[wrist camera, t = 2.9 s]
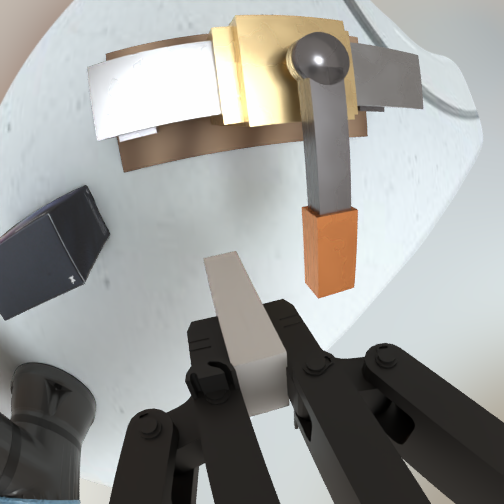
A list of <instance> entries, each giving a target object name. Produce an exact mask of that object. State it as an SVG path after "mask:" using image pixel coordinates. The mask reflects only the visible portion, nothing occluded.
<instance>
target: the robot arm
mask: <svg viewBox="0 0 504 504" xmlns="http://www.w3.org/2000/svg"><path fill="white" fill-rule="evenodd" d="M203 259H204V264H205V268H206V273H207V277H208V282H209V286H210V291H211V295H212V299H213V303H214V308H215V312H216V315H217V316H216V317H211V318H207V319H203V320H198V321H194V322H191V324H190V326H189V329H188V331H187V336H188V343H189V351H190V359H191V367H190V369H189V370H188V372H187V373H186V379H185V382H186V384H187V387H188V389H189V391H190V393H191V397H190V398H189V399H188V400H187V401H186V402H185V403H184V404H182V405H181V406H179V407H177V408H175V409H173V410H171V411H169V412H167V413H165V412H164V411H162V410H158V409H146V410H143V411H141V412H139V413H137V414H136V415H135V416H134V417H133V418H132V419H131V421H130V423H129V425H128V428H127V431H126V435H125V439H124V443H123V446H122V450H121V454H120V458H119V462H118V466H117V471H116V475H115V479H114V484H113V488H112V493H111V497H110V502H109V504H196V496H197V495H196V494H197V483H198V472H199V466H200V465H202V464H204V463H205V464H206V469H207V473H208V477H209V482H210V486H211V490H212V494H213V498H214V503H215V504H280V502H279V499H278V496H277V494H276V491H275V488H274V486H273V483H272V480H271V478H270V475H269V472H268V470H267V467H266V464H265V461H264V458H263V455H262V453H261V450H260V447H259V444H258V441H257V438H256V435H255V432H254V429H253V427H252V423H251V420H250V417H251V416H255V415H258V414H262V413H266V412H269V411H272V410H276V409H279V408H283V407H286V406H289V399H290V401H291V403H292V406H293V408H294V425H295V429H298V427H299V429H300V431H301V433H302V435H303V437H304V440H305V442H306V444H307V446H308V448H309V451H310V453H311V455H312V457H313V459H314V462H315V464H316V466H317V468H318V470H319V472H320V474H321V476H322V478H323V481H324V483H325V485H326V487H327V489H328V491H329V493H330V495H331V498H332V500H333V502H334V504H431V503H430V501H429V500H428V498H427V497H426V495H425V493H424V492H423V491H422V489H421V487H420V485H419V484H418V482H417V481H416V479H415V478H414V476H413V475H412V473H411V471H410V470H409V468H408V467H407V465H406V464H405V462H404V461H403V459H404V460H405V461H406V462H407V463H408V464H409V465H411V466H412V467H413V468H414V469H415V470H416V471H417V472H419V473H420V474H421V475H422V476H423V477H425V478H426V479H427V480H428V481H429V482H430V483H431V484H433V485H434V486H435V487H436V488H437V489H438V490H440V491H441V492H442V493H443V494H445V495H446V496H447V497H448V498H449V499H451V500H452V501H453V502H454V503H455V504H504V423H503V422H502V421H501V420H499V419H498V418H497V417H495V416H494V415H492V414H491V413H489V412H488V411H487V410H486V409H484V408H483V407H481V406H480V405H479V404H477V403H476V402H475V401H473V400H472V399H470V398H469V397H468V396H466V395H465V394H464V393H462V392H461V391H459V390H458V389H457V388H455V387H454V386H452V385H451V384H450V383H448V382H447V381H446V380H444V379H443V378H441V377H440V376H439V375H437V374H436V373H435V372H433V371H432V370H430V369H429V368H428V367H426V366H425V365H423V364H422V363H421V362H419V361H418V360H416V359H415V358H414V357H412V356H411V355H409V354H408V353H407V352H405V351H404V350H402V349H401V348H399V347H397V346H395V345H393V344H388V343H382V344H377V345H375V346H372V347H371V348H370V349H369V350H368V351H367V352H366V355H365V357H360V358H351V359H340V358H335V357H334V356H333V355H332V354H330V353H328V352H326V351H323V350H322V349H321V348H320V346H319V344H318V343H317V341H316V340H315V338H314V337H313V335H312V334H311V332H310V331H309V329H308V327H307V326H306V324H305V323H304V322H303V320H302V318H301V317H300V315H299V314H298V312H297V310H296V309H295V307H294V306H293V305H292V304H290V303H289V302H287V301H286V300H284V299H281V300H277V301H273V302H269V303H265V304H262V302H261V300H260V298H259V296H258V294H257V292H256V290H255V288H254V286H253V284H252V282H251V280H250V278H249V276H248V274H247V272H246V270H245V268H244V266H243V264H242V262H241V260H240V258H239V256H238V254H237V252H236V251H234V252H229V253H225V254H220V255H216V256H211V257H207V258H203ZM11 393H12V398H11V411H12V416H11V420H9V419H8V418H7V417H6V416H4V415H3V414H2V413H1V412H0V504H80V500H79V480H80V457H81V445H82V442H83V440H84V438H85V436H86V434H87V432H88V430H89V428H90V426H91V425H92V423H93V422H94V419H95V411H96V402H95V399H94V397H93V395H92V394H91V392H90V391H89V390H88V389H87V388H86V387H85V386H84V385H83V384H82V383H81V382H80V381H78V380H77V379H76V378H74V377H73V376H71V375H69V374H68V373H66V372H64V371H62V370H60V369H57V368H55V367H52V366H49V365H45V364H39V363H27V364H23V365H21V366H19V367H18V368H17V369H16V371H15V373H14V376H13V378H12V381H11ZM401 457H402V458H403V459H402V458H401Z"/></svg>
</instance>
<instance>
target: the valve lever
mask: <svg viewBox="0 0 504 504" xmlns="http://www.w3.org/2000/svg"><path fill="white" fill-rule="evenodd" d="M286 64H287V67H288V70H289V72H290V73H291V75H292V76H293V77H294V78H295V79H296V80H297V83H298V91H299V100H300V109H301V119H302V130H303V141H304V152H305V165H306V179H307V195H308V206H305V207H302V220H303V240H304V263H305V283H306V284H307V285H308V287H309V288H310V289H311V290H312V291H313V293H314V294H315V295H316V296H317V298H322V297H325V296H328V295H331V294H335V293H338V292H341V291H344V290H347V289H351V288H354V283H355V268H356V250H357V221H358V210H357V209H355V208H353V207H352V206H351V172H350V147H349V129H348V115H347V104H346V93H345V83H344V78H345V77H346V75H347V73H348V71H349V67H350V60H349V55H348V52H347V50H346V48H345V47H344V45H343V44H342V43H341V42H340V41H339V40H338V39H337V38H336V37H334V36H332V35H330V34H328V33H324V32H313V33H310V34H308V35H306V36H304V37H302V38H300V39H299V40H297V41H295V42H294V43H293V44H291V46H290V47H289V49H288V51H287V54H286Z"/></svg>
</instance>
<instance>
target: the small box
mask: <svg viewBox="0 0 504 504" xmlns="http://www.w3.org/2000/svg"><path fill="white" fill-rule="evenodd" d="M109 235H110V233H109V230H108V229H107V227H106V226H105V223H104V222H103V220H102V217H101V215H100V213H99V211H98V209H97V207H96V205H95V202H94V199H93V197H92V195H91V193H90V191H89V189H88V187H87V186H86V185H85V186H82V187H80V188H78V189H76V190H74V191H72V192H70V193H67V194H66V195H64V196H62V197H60V198H58V199H56V200H55V201H53V202H51V203H49V204H47V205H46V206H44V207H42V208H41V209H39V210H37V211H35V212H34V213H32V214H31V215H29V216H28V217H26V218H25V219H23V220H22V221H20V222H19V223H18V224H16V225H15V226H14V227H12V228H11V229H10V230H8V231H7V232H6V233H5V234H4V235H2V236H1V237H0V314H1V315H2V317H3V318H4V320H5V321H6V320H8V319H10V318H12V317H14V316H16V315H19V314H21V313H23V312H25V311H27V310H29V309H31V308H33V307H36V306H38V305H40V304H42V303H44V302H46V301H48V300H50V299H53V298H55V297H57V296H59V295H61V294H64V293H66V292H68V291H70V290H73V289H74V288H77V287H79V286H81V285H83V284H85V282H86V280H87V277H88V276H89V273H90V271H91V269H92V267H93V265H94V263H95V261H96V259H97V257H98V255H99V253H100V251H101V249H102V247H103V245H104V244H105V242H106V241H107V239H108V237H109Z"/></svg>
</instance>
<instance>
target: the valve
mask: <svg viewBox="0 0 504 504" xmlns="http://www.w3.org/2000/svg"><path fill="white" fill-rule="evenodd" d="M313 32H324V33H328V34H330V35H332V36H334V37H336V38H337V39H338V40H339V41H340V42H341V43H342V44H343V45H344V47H345V48H346V50H347V52H348V55H349V60H350V67H349V71H348V73H347V75H346V77H345V78H344V83H345V93H346V104H347V115H348V120H352V119H355V115H358V111H378V112H384V107H398V108H414V109H423V97H422V85H421V75H420V66H419V59H418V55H415V54H411V53H407V52H402V51H398V50H393V49H388V48H383V47H378V46H372V45H366V44H359V43H352V42H350V40H349V34H348V31H344V26H343V21H339V20H331V19H323V18H314V17H302V16H286V15H235V17H234V18H233V20H232V21H231V23H230V24H229V26H228V27H215V28H211V30H210V32H209V34H208V37H207V39H206V41H203V42H195V43H187V44H181V45H175V46H169V47H163V48H158V49H153V50H148V51H144V52H139V53H135V54H131V55H127V56H123V57H119V58H116V59H112V60H108V61H105V62H102V63H98V64H95V65H92V66H89V67H87V72H88V82H89V91H90V98H91V106H92V112H93V119H94V125H95V131H96V137H97V141H100V140H104V139H109V138H113V137H117V136H119V140H120V142H122V141H125V140H129V139H133V138H137V137H141V136H145V135H150V134H154V133H158V132H159V127H158V126H161V125H166V124H171V123H176V122H181V121H186V120H192V119H197V118H203V117H210V123H211V125H219V126H241V127H253V126H261V125H270V124H280V123H292V122H302V119H301V109H300V100H299V91H298V83H297V80H296V79H295V78H294V77H293V76H292V75H291V73H290V72H289V70H288V67H287V64H286V54H287V51H288V49H289V47H290V46H291V44H293V43H294V42H295V41H297V40H299V39H300V38H302V37H304V36H306V35H308V34H310V33H313Z"/></svg>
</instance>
